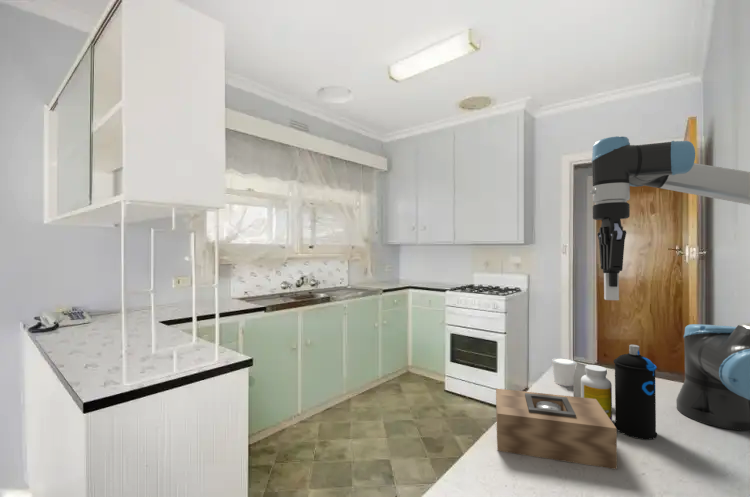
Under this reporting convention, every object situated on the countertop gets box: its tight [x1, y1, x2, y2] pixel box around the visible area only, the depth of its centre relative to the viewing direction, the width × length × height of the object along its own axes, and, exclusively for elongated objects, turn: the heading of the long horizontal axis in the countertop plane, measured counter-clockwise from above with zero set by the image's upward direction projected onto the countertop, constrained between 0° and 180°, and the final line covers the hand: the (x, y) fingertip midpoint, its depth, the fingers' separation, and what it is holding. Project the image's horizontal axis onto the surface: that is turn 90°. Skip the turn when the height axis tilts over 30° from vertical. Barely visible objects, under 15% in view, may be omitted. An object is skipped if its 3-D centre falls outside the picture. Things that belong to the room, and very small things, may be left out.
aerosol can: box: [613, 344, 658, 441], centre depth 84 cm, size 8×8×20 cm
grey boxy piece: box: [572, 361, 587, 397], centre depth 100 cm, size 4×7×10 cm, turn 30°
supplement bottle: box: [581, 364, 613, 422], centre depth 90 cm, size 7×7×13 cm
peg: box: [536, 401, 561, 411], centre depth 79 cm, size 5×5×8 cm
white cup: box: [551, 357, 577, 387], centre depth 113 cm, size 7×7×7 cm
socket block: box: [495, 388, 618, 470], centre depth 79 cm, size 22×14×9 cm, turn 72°
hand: (611, 299), depth 87 cm, fingers closed
